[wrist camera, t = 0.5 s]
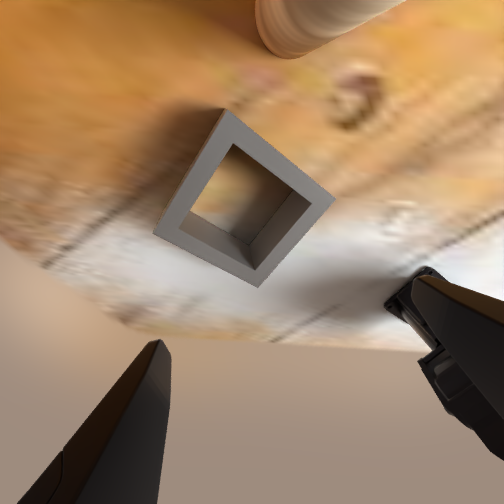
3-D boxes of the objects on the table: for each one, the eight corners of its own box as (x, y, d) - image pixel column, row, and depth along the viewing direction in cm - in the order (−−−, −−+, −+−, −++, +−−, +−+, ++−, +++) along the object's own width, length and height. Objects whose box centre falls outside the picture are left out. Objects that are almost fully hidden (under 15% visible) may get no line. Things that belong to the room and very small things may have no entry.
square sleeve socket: (316, 183, 21) (336, 198, 17) (251, 261, 24) (257, 287, 20) (224, 108, 17) (227, 109, 14) (163, 211, 20) (152, 233, 17)
